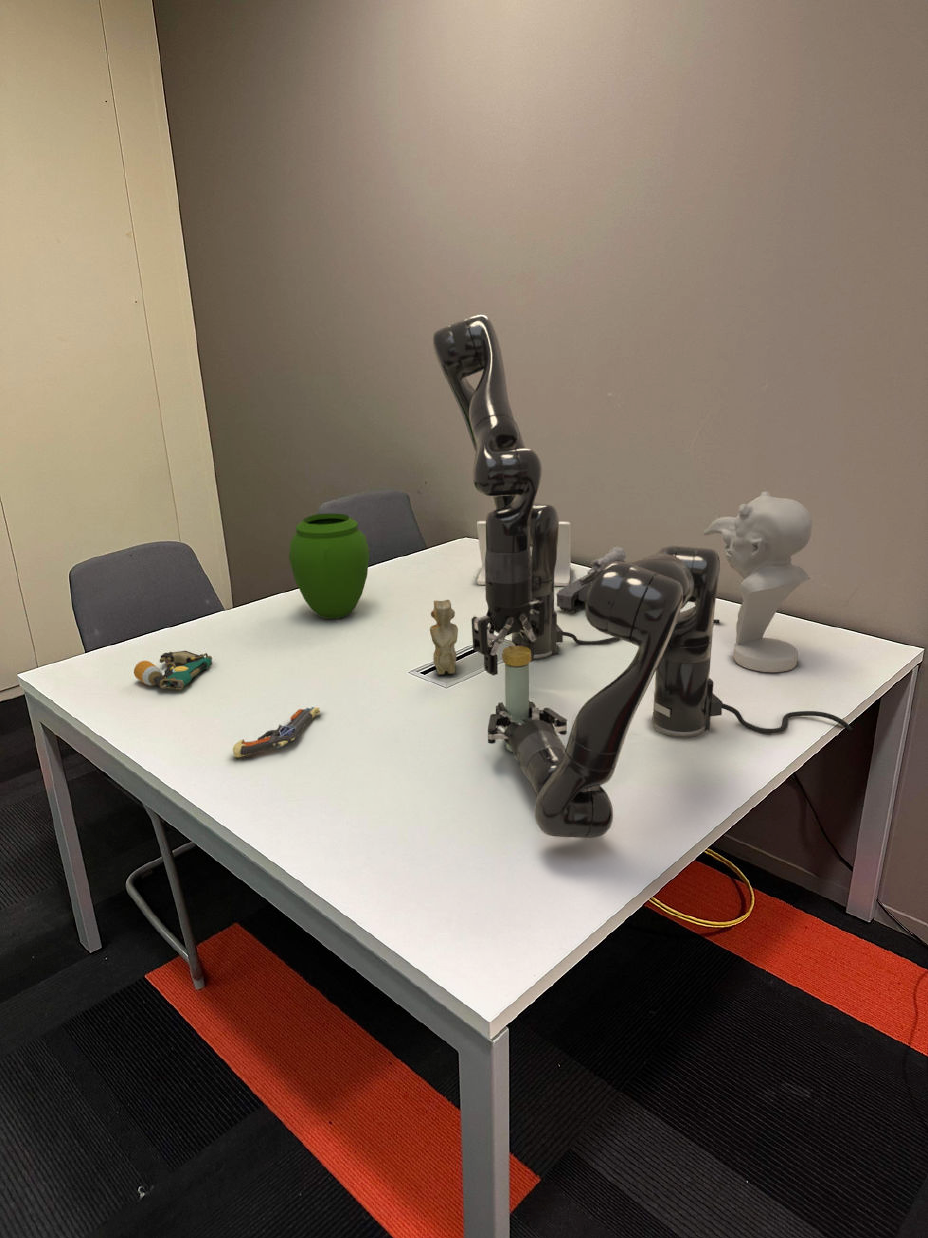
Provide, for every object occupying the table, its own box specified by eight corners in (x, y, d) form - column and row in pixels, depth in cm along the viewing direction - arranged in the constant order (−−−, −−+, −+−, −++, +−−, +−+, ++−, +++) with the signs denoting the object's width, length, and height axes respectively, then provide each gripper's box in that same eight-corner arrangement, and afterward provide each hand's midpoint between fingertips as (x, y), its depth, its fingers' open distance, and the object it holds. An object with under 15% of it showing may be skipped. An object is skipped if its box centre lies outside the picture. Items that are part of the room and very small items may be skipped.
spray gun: (177, 659, 191) (231, 671, 185) (120, 684, 176) (176, 698, 171) (176, 641, 190) (230, 653, 184) (118, 665, 175) (174, 678, 169)
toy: (603, 584, 229) (605, 530, 224) (673, 597, 218) (677, 540, 213) (555, 612, 210) (556, 553, 205) (630, 627, 199) (633, 566, 194)
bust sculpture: (733, 628, 197) (746, 477, 185) (818, 663, 177) (839, 497, 165) (679, 642, 190) (690, 486, 178) (762, 680, 170) (780, 508, 158)
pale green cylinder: (516, 755, 146) (515, 661, 140) (501, 746, 149) (499, 654, 143) (534, 747, 148) (534, 654, 142) (518, 738, 151) (517, 648, 145)
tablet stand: (569, 585, 229) (570, 524, 223) (476, 584, 232) (475, 523, 226) (570, 566, 246) (571, 508, 240) (484, 564, 249) (483, 507, 243)
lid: (534, 664, 141) (534, 655, 140) (506, 667, 140) (506, 658, 139) (526, 653, 145) (526, 644, 145) (499, 656, 144) (499, 647, 144)
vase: (389, 608, 216) (383, 514, 208) (339, 633, 201) (330, 533, 192) (330, 596, 226) (322, 506, 218) (278, 619, 211) (267, 523, 202)
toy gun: (227, 747, 146) (281, 745, 144) (271, 705, 164) (320, 702, 162) (230, 762, 146) (284, 759, 144) (274, 718, 164) (322, 715, 162)
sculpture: (458, 662, 183) (456, 596, 178) (460, 676, 176) (457, 608, 171) (431, 663, 183) (428, 597, 177) (431, 677, 176) (428, 609, 171)
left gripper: (526, 559, 144) (527, 649, 150) (458, 578, 136) (462, 672, 142) (557, 569, 139) (556, 662, 145) (488, 589, 131) (490, 687, 137)
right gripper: (584, 726, 133) (552, 681, 149) (495, 737, 130) (472, 690, 146) (583, 768, 136) (552, 720, 151) (496, 780, 133) (473, 729, 149)
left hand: (509, 667), depth 143 cm, fingers open, 7 cm apart
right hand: (513, 706), depth 149 cm, fingers closed on pale green cylinder, 4 cm apart
